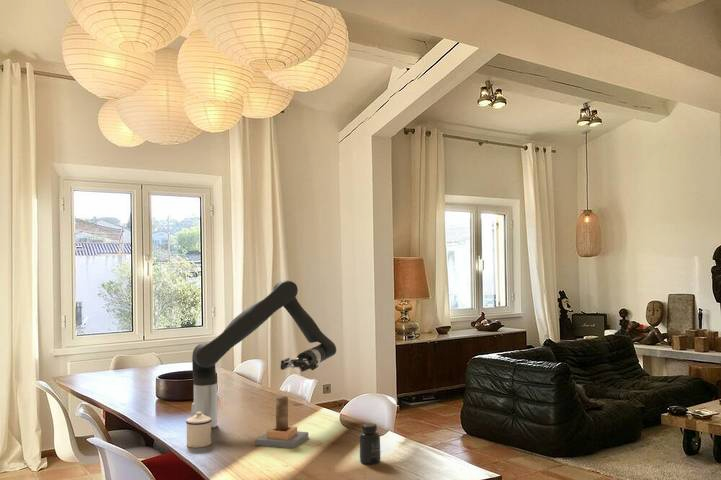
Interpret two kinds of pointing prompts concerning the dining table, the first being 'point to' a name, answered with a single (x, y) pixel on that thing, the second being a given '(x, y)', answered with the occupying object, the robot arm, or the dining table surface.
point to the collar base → (282, 438)
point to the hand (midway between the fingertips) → (291, 368)
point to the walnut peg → (281, 413)
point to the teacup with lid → (198, 430)
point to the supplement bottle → (369, 444)
